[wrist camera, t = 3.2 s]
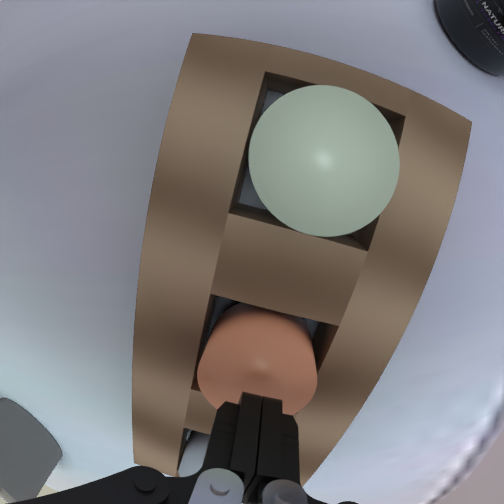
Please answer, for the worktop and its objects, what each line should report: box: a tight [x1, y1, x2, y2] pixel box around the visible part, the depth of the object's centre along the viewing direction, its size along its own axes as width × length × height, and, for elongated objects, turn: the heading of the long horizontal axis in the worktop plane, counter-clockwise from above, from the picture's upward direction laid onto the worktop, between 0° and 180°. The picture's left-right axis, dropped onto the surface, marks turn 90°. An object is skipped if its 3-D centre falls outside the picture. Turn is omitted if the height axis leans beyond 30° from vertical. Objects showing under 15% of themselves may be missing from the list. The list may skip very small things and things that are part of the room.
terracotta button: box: [197, 302, 317, 415], centre depth 13 cm, size 5×5×3 cm
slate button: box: [179, 430, 210, 477], centre depth 16 cm, size 5×5×3 cm
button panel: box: [132, 33, 472, 487], centre depth 15 cm, size 26×12×3 cm, turn 166°
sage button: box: [248, 85, 400, 237], centre depth 11 cm, size 5×5×3 cm
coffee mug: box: [0, 398, 62, 503], centre depth 19 cm, size 13×10×10 cm
